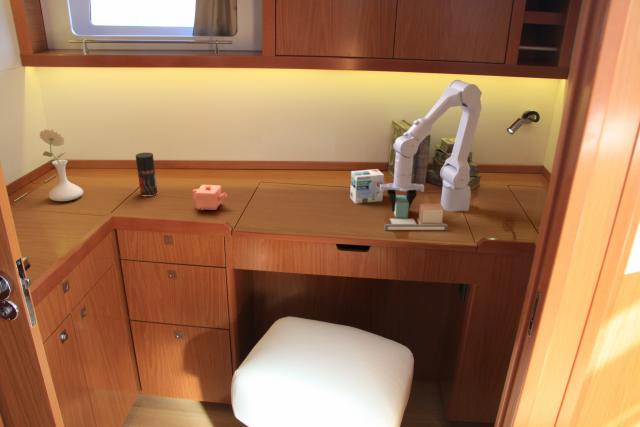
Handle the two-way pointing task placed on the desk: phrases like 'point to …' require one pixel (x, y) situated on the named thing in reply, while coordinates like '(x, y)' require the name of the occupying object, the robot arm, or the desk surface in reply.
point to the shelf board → (413, 225)
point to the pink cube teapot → (208, 197)
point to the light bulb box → (366, 186)
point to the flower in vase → (60, 170)
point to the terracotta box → (431, 213)
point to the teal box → (401, 206)
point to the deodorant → (146, 173)
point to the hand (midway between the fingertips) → (399, 210)
